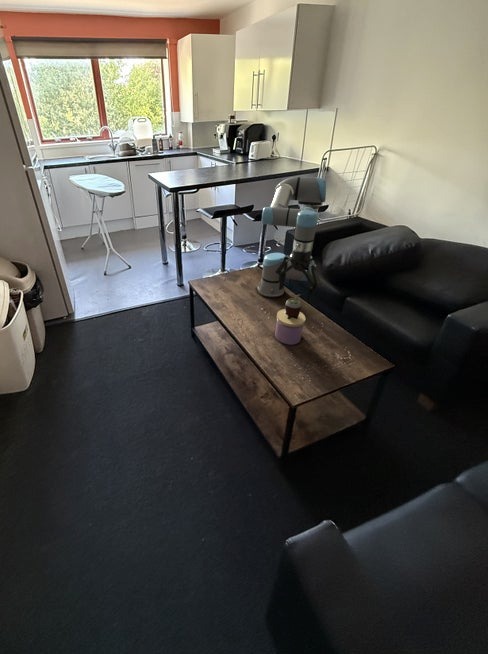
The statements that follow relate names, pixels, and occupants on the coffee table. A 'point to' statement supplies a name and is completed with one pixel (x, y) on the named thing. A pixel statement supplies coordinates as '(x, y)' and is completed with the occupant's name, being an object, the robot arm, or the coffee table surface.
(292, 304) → the mate gourd
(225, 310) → the coffee table surface
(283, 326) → the jar
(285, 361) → the coffee table surface
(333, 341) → the coffee table surface
